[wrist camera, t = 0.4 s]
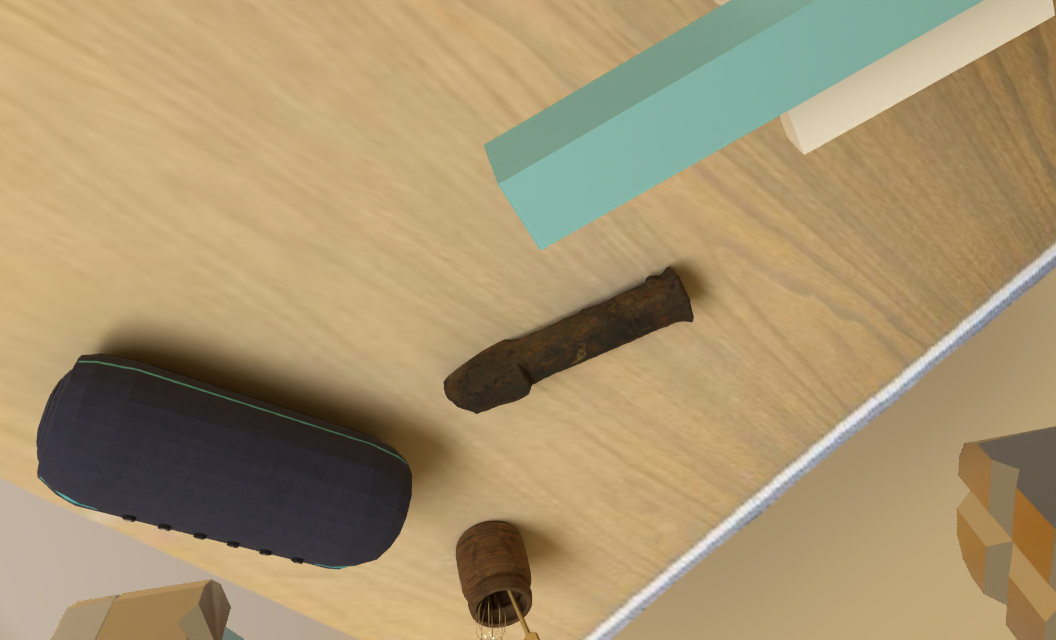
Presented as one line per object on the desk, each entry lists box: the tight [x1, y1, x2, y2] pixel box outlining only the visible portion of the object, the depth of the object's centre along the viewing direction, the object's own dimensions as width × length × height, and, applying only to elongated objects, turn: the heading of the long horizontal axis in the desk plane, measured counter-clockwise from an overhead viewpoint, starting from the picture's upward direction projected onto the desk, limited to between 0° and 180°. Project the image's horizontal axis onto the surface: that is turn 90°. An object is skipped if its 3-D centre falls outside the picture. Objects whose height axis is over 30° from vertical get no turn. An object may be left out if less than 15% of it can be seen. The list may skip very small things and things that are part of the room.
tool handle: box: [484, 0, 983, 251], centre depth 32 cm, size 25×3×3 cm, turn 118°
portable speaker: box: [37, 354, 412, 569], centre depth 67 cm, size 25×10×10 cm, turn 58°
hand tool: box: [444, 267, 694, 414], centre depth 70 cm, size 19×4×5 cm, turn 109°
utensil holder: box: [456, 522, 540, 640], centre depth 79 cm, size 6×6×12 cm
